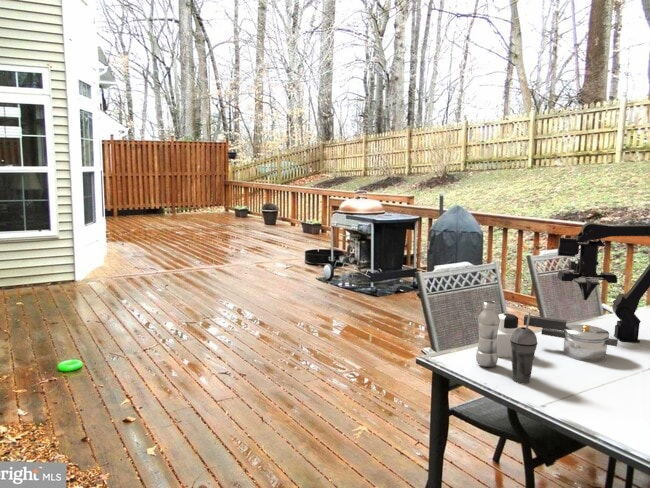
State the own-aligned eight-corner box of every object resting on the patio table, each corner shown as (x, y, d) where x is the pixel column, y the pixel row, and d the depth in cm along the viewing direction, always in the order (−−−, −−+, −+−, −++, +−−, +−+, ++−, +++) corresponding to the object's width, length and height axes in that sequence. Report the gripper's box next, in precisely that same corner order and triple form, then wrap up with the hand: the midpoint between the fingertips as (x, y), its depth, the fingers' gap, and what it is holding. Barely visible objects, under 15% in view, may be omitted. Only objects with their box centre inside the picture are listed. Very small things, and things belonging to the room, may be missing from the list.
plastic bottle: (497, 363, 160) (501, 300, 157) (497, 371, 153) (501, 306, 151) (476, 360, 162) (479, 298, 159) (474, 368, 156) (478, 304, 153)
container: (514, 349, 172) (516, 312, 170) (520, 358, 164) (523, 318, 162) (490, 348, 173) (492, 311, 171) (496, 357, 165) (498, 318, 163)
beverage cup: (503, 375, 150) (507, 309, 147) (527, 375, 151) (531, 308, 148) (514, 386, 143) (519, 316, 140) (539, 385, 144) (544, 316, 141)
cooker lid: (609, 331, 169) (610, 322, 168) (608, 343, 158) (608, 333, 157) (527, 319, 182) (527, 311, 181) (520, 329, 170) (521, 320, 170)
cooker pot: (617, 354, 168) (619, 334, 167) (614, 367, 157) (616, 345, 156) (544, 341, 180) (546, 322, 179) (537, 352, 169) (538, 332, 168)
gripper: (607, 254, 191) (603, 295, 193) (554, 253, 193) (551, 293, 196) (620, 260, 180) (615, 303, 182) (563, 258, 182) (560, 301, 185)
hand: (584, 300), depth 187 cm, fingers closed
